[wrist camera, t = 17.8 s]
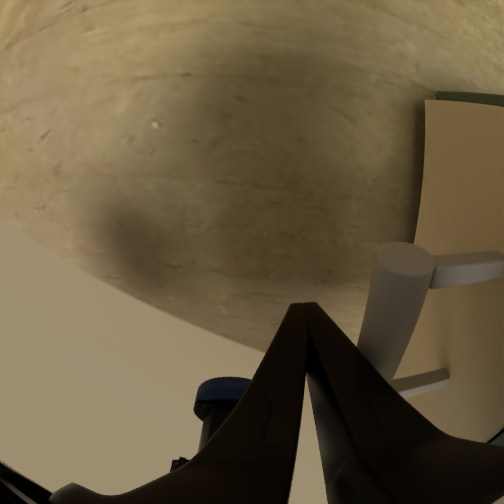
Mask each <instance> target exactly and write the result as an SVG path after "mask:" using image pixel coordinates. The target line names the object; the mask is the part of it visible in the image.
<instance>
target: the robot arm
mask: <svg viewBox="0 0 504 504" xmlns="http://www.w3.org/2000/svg"><path fill="white" fill-rule="evenodd" d="M375 370H376V369H375V367H374V366H373V365H372V364H371V363H370V362H369V361H368V359H367V358H366V357H365V356H364V355H363V354H362V353H361V352H360V350H359V349H358V348H357V347H356V346H355V345H354V344H353V343H352V341H351V340H350V339H349V338H348V337H347V336H346V335H345V334H344V332H343V331H342V330H341V329H340V328H339V327H338V326H337V325H336V323H335V322H334V321H333V320H332V319H331V318H330V317H329V316H328V315H327V313H326V312H325V311H324V310H323V309H322V308H321V307H320V306H319V305H318V303H316V302H305V303H292V304H290V306H289V308H288V310H287V312H286V314H285V316H284V318H283V320H282V322H281V324H280V326H279V328H278V330H277V332H276V334H275V336H274V338H273V340H272V342H271V344H270V346H269V348H268V350H267V352H266V354H265V356H264V358H263V360H262V361H261V363H260V365H259V367H258V369H257V371H256V373H255V375H254V377H253V378H252V381H251V382H250V383H249V385H248V387H247V389H246V391H245V392H244V394H243V396H242V397H241V399H240V400H239V402H223V401H207V400H196V401H195V407H196V409H197V411H198V413H199V414H200V416H201V418H202V420H203V427H202V432H201V438H200V443H199V448H198V453H197V454H196V455H195V456H194V457H193V458H192V459H191V460H187V459H186V458H183V457H180V458H179V460H173V461H172V466H171V470H170V473H168V474H166V475H164V476H162V477H160V478H158V479H156V480H154V481H152V482H149V483H147V484H145V485H143V486H141V487H139V488H136V489H134V490H131V491H129V492H126V493H123V494H120V495H112V496H111V495H101V494H98V493H96V492H93V491H91V490H89V489H87V488H85V487H83V486H81V485H78V484H76V483H70V484H68V485H66V486H64V487H62V488H60V489H59V490H57V491H55V492H54V493H53V492H51V491H49V490H48V489H46V488H44V487H42V486H41V485H39V484H37V483H36V482H34V481H33V480H31V479H29V478H27V477H26V476H24V475H22V474H21V473H19V472H17V471H16V470H14V469H13V468H11V467H10V466H8V465H7V464H5V463H4V462H2V461H1V460H0V504H288V502H289V497H290V492H291V486H292V480H293V474H294V468H295V462H296V454H297V448H298V440H299V433H300V425H301V417H302V408H303V398H304V388H305V377H306V376H307V381H308V386H309V392H310V398H311V403H312V408H313V414H314V420H315V425H316V431H317V437H318V442H319V449H320V455H321V461H322V467H323V473H324V480H325V485H326V486H325V487H326V494H327V501H328V504H504V446H501V445H495V444H488V443H483V442H477V441H472V440H467V439H462V438H458V437H454V436H451V435H449V434H447V433H445V432H443V431H441V430H440V429H438V428H437V427H436V426H435V425H433V424H432V423H431V422H430V421H429V420H428V419H427V418H425V417H424V416H423V415H422V414H421V413H420V412H419V411H418V410H416V409H415V408H414V407H413V406H412V405H411V404H410V403H408V402H407V401H406V400H405V399H404V398H403V397H402V396H401V395H400V394H399V393H398V392H397V391H396V390H395V389H394V388H393V387H392V386H391V385H390V384H389V383H388V382H387V381H386V380H385V379H384V378H383V376H382V375H381V374H380V373H379V372H378V371H377V370H376V371H375Z"/></svg>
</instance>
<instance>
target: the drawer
mask: <svg viewBox="0 0 504 504" xmlns="http://www.w3.org/2000/svg"><path fill="white" fill-rule="evenodd" d="M357 348H358V349H359V350H360V352H361V353H362V354H363V355H364V356H365V357H366V358H367V359H368V361H369V362H370V363H371V364H372V365H373V366H374V367H375V369H376V370H377V371H378V372H379V373H380V374H381V375H382V376H383V378H384V379H385V380H386V381H387V382H388V383H389V384H390V385H391V386H392V387H393V388H394V389H395V390H396V391H397V392H398V393H399V394H400V395H401V396H402V397H403V398H404V399H405V400H406V401H407V402H408V403H410V404H411V405H412V406H413V407H414V408H415V409H416V410H418V411H419V412H420V413H421V414H422V415H423V416H424V417H425V418H427V419H428V420H429V421H430V422H431V423H432V424H433V425H435V426H436V427H437V428H438V429H440V430H441V431H443V432H445V433H447V434H449V435H451V436H454V437H458V438H462V439H467V440H472V441H477V442H483V443H488V444H489V443H491V442H492V441H493V440H494V439H495V438H497V437H498V436H499V435H500V434H501V433H503V432H504V107H499V106H492V105H485V104H478V103H469V102H458V101H444V100H425V155H424V171H423V183H422V192H421V201H420V209H419V216H418V222H417V228H416V234H415V240H414V244H411V243H406V242H389V243H385V244H383V245H381V246H380V247H379V248H378V249H377V251H376V254H375V260H374V267H373V273H372V279H371V284H370V290H369V295H368V300H367V305H366V310H365V314H364V319H363V323H362V328H361V332H360V336H359V340H358V344H357ZM376 370H375V371H376ZM394 375H395V377H396V379H394V380H392V379H393V377H394Z"/></svg>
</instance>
